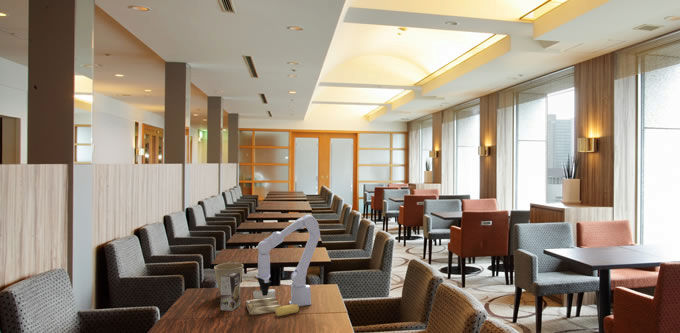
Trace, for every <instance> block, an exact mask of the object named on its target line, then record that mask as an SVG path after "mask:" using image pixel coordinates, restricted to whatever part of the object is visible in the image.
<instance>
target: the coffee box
mask: <svg viewBox="0 0 680 333" xmlns="http://www.w3.org/2000/svg"><path fill="white" fill-rule="evenodd" d="M240 306H241V283H240V273H237V272H232V273H231V272H228V273H227V274H225V275H223V276H221V293H220V310H221V311H229V312H233V311H234V310H235V309H237V308H238V307H240Z"/></svg>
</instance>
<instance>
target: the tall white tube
mask: <svg viewBox="0 0 680 333" xmlns="http://www.w3.org/2000/svg"><path fill="white" fill-rule="evenodd" d="M252 295H253V300H256V299H265V298H275V299H276V289H275V288H271V289H270V288H269V289H268V294H267V295H265V296H263V294H262V290H254V291H253V294H252Z"/></svg>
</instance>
